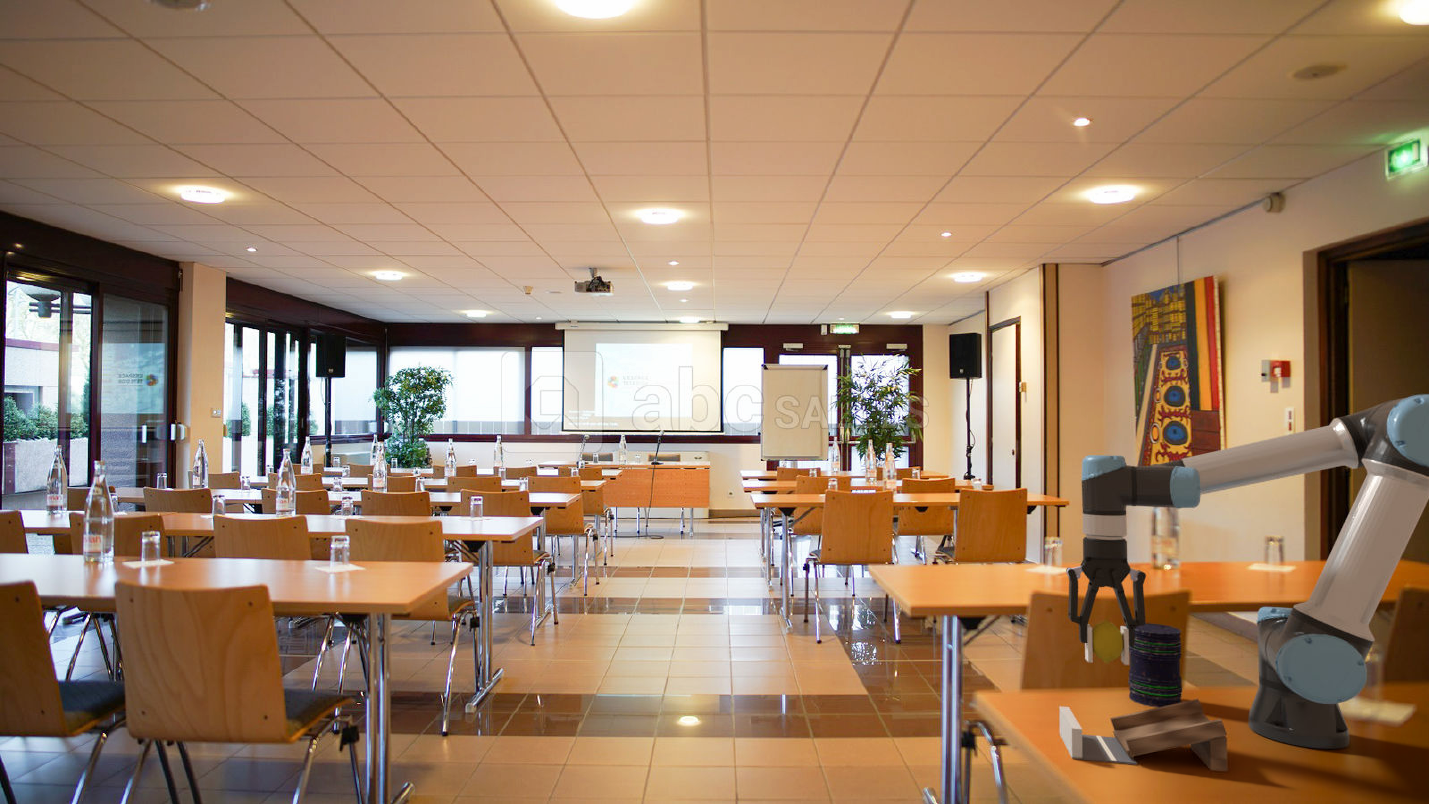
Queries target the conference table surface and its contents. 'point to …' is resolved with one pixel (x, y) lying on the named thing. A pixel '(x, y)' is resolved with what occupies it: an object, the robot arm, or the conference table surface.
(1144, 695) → the dark blue upright cylinder
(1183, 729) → the ramp
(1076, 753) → the rail
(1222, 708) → the conference table surface
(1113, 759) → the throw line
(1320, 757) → the conference table surface
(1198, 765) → the conference table surface
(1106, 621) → the lemon
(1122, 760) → the lane mat
